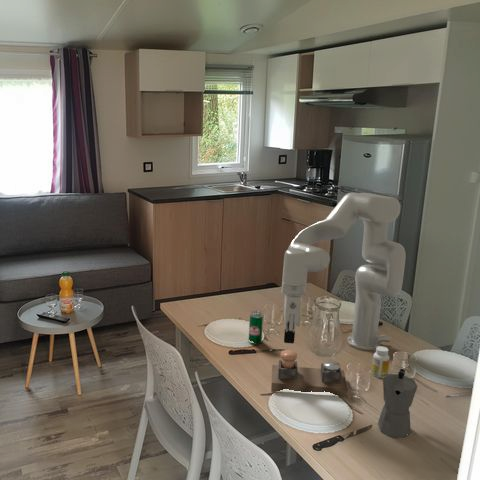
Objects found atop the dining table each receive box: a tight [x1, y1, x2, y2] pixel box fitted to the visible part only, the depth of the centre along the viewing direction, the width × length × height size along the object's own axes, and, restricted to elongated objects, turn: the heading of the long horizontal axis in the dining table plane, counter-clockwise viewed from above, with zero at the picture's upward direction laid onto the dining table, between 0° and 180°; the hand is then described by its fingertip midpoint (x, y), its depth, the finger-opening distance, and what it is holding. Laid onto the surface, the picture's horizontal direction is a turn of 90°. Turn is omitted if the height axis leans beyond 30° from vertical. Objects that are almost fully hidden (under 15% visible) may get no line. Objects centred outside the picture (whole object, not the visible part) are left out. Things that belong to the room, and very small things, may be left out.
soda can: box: [248, 310, 264, 345], centre depth 204 cm, size 5×5×12 cm
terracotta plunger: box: [280, 349, 298, 369], centre depth 174 cm, size 5×5×5 cm
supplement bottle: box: [371, 345, 390, 379], centre depth 184 cm, size 5×5×10 cm
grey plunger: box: [323, 360, 341, 372], centre depth 174 cm, size 5×5×5 cm
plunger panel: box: [270, 359, 349, 398], centre depth 175 cm, size 24×12×6 cm, turn 86°
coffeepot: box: [377, 368, 418, 438], centre depth 153 cm, size 15×9×18 cm, turn 158°
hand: (288, 342), depth 172 cm, fingers closed
